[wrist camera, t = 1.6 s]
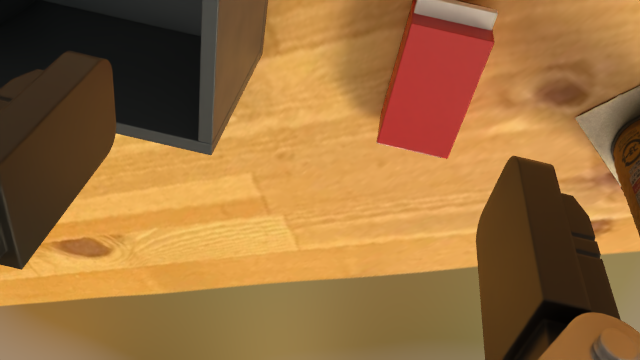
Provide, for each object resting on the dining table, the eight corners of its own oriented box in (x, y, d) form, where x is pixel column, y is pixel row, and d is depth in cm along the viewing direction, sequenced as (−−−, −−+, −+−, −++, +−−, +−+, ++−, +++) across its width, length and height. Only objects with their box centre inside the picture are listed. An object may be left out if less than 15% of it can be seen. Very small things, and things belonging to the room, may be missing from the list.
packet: (418, -18, 35) (416, 5, 33) (497, 0, 35) (501, 24, 33) (377, 126, 43) (373, 155, 40) (442, 141, 43) (442, 171, 40)
